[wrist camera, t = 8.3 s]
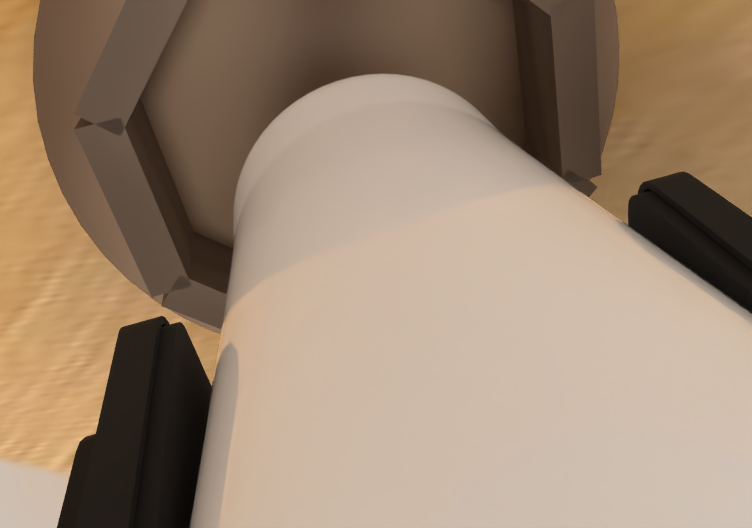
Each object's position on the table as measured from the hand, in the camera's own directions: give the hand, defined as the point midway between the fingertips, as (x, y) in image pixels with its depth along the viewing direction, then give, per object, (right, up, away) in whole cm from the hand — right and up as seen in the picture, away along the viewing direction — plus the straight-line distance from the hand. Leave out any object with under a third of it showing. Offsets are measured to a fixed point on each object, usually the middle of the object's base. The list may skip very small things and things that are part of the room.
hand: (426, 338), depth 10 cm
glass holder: (-2, +5, +9) cm, 11 cm away
